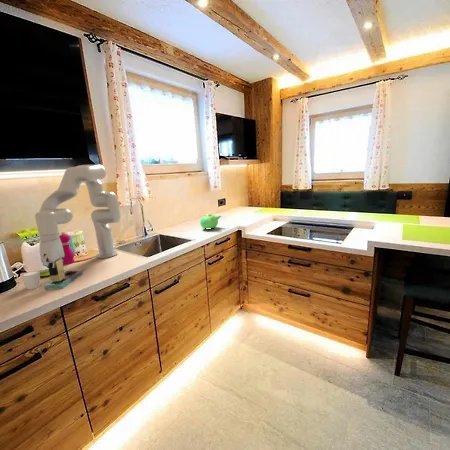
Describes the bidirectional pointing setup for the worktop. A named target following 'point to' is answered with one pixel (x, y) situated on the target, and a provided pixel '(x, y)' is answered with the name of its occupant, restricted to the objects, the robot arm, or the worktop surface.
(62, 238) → the pepper mill
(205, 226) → the green teapot
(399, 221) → the worktop surface
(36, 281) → the white cylinder
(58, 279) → the nut block
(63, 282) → the teal and grey tray
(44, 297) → the worktop surface
